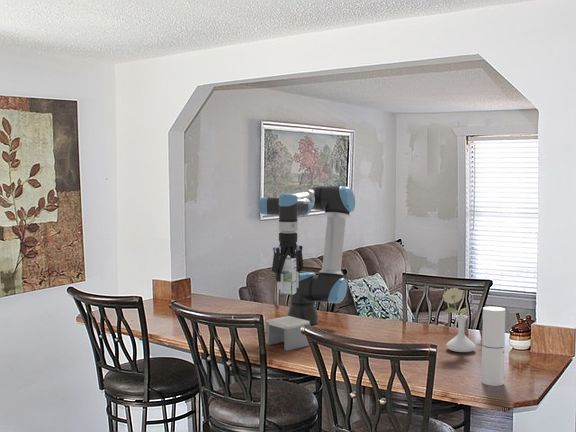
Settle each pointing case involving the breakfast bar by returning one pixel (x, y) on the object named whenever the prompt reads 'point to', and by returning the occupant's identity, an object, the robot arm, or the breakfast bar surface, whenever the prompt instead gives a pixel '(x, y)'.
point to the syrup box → (289, 277)
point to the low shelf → (286, 332)
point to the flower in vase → (460, 341)
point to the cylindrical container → (493, 346)
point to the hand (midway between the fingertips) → (287, 288)
